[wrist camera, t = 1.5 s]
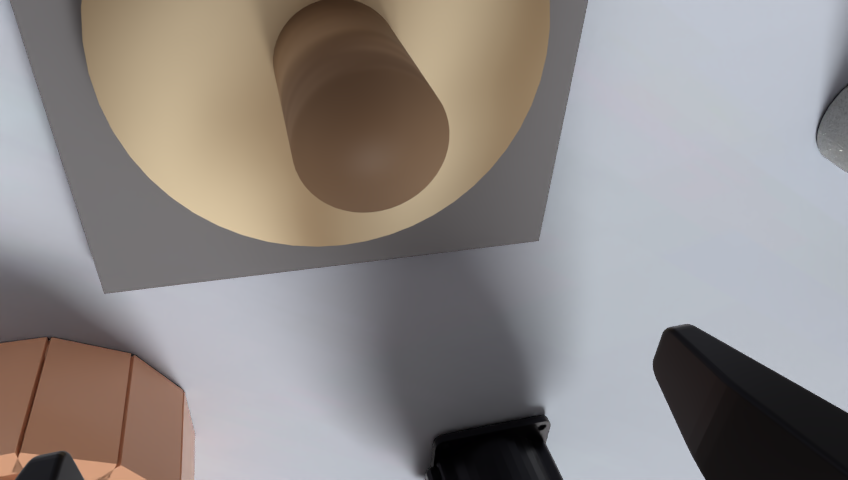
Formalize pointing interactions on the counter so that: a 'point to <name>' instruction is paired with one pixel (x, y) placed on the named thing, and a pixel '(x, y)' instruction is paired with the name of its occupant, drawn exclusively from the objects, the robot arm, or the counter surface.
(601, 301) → the counter surface
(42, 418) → the bowl
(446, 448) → the robot arm
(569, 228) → the counter surface
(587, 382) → the counter surface
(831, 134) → the planter
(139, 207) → the mat
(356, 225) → the lid
